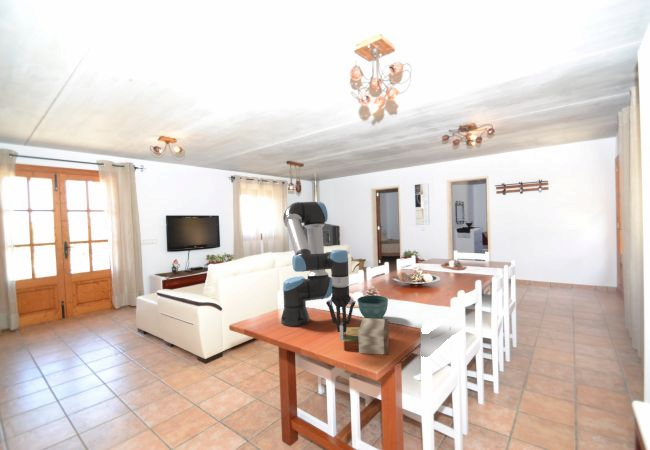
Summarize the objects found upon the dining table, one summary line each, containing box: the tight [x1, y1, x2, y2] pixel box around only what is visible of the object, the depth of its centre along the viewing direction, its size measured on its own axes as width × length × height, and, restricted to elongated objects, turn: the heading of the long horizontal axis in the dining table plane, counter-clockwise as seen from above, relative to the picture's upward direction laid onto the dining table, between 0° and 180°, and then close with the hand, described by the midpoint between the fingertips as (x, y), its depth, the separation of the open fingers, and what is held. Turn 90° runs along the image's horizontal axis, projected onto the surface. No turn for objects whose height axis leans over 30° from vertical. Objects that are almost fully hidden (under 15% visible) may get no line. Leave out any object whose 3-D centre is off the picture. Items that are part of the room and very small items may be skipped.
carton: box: [343, 326, 360, 351], centre depth 132 cm, size 8×16×4 cm, turn 175°
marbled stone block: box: [358, 317, 390, 356], centre depth 128 cm, size 12×17×8 cm
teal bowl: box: [357, 294, 389, 319], centre depth 161 cm, size 16×16×11 cm
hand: (342, 339), depth 131 cm, fingers closed
